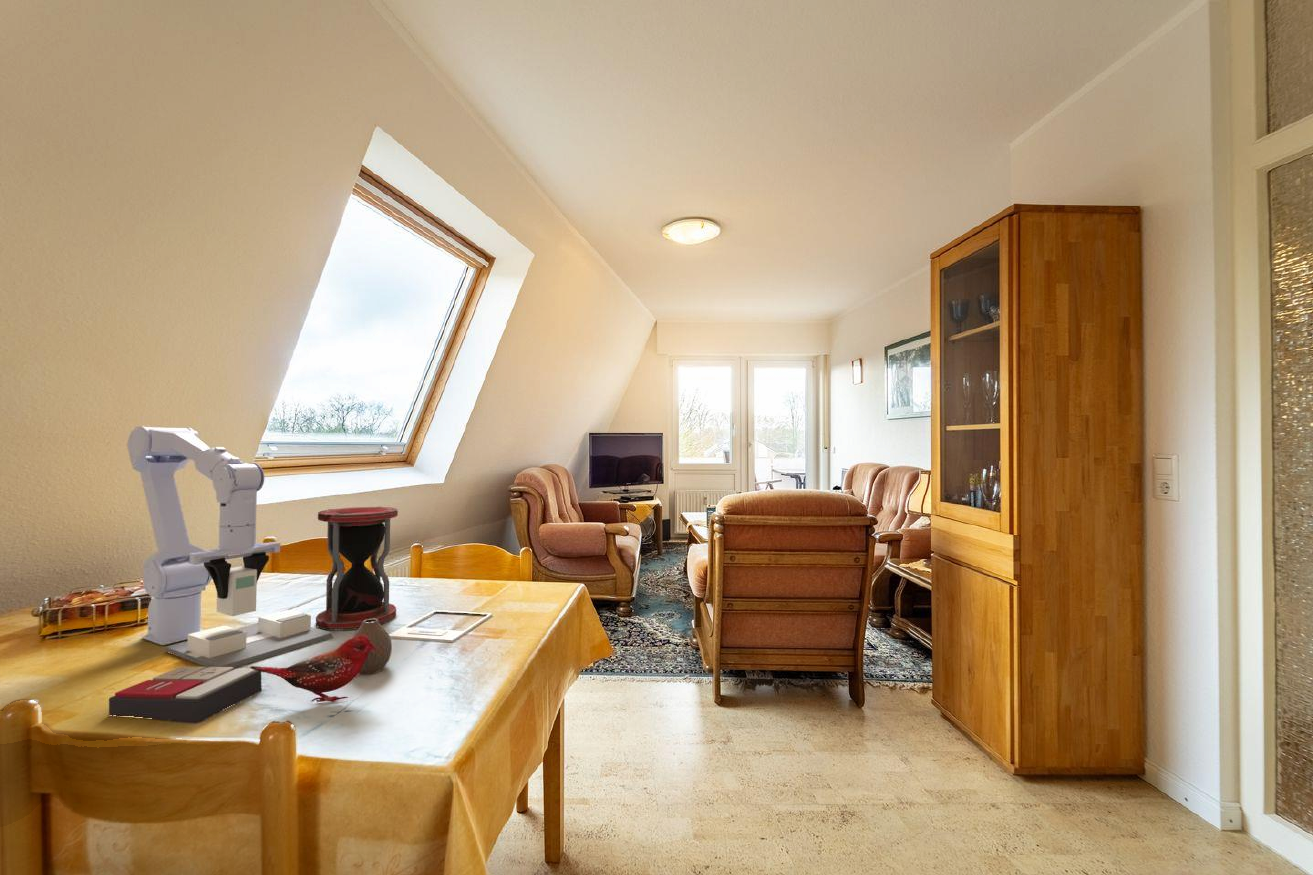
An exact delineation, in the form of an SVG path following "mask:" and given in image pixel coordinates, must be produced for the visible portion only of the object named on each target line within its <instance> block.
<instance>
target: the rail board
mask: <svg viewBox="0 0 1313 875" xmlns="http://www.w3.org/2000/svg"><path fill="white" fill-rule="evenodd" d="M257 618H258V619H257V620H258V621H257V622H258V623H255V624H249V625H246V626H242V627H238V628H235V627H231V626H228V625H221V626H217V627H212V628H209V629H204V631H200V632H196V633H191V634H188V639H187V641H186V640H185V641H182V642H179V643H174V644H171V645H170V644H169V645H167V646H166V645H165V653H167V652H170V653H172V654H174V655H173V656H175V655H177V656H176V657H178V656H179V658H180V657H181V659H183V660H185V659H186V661H189V662H191V663H193V662H195V663H194V664H196V663H197V665H199V664H200V665H199V666H200V667H206V668H208V667H234V669H236V668H237V667H238V668H239V667H242V666H244V665H248V664H251V663H253V662H257V661H261V660H264V659H267V658H270V657H274V656H277V655H280V654H284V653H286V652H290V651H293V650H296V649H300V648H304V647H305V646H309V645H313V644H316V643H319V642H322V641H326V640H329V639H332V638H333V637H334V636H333V634H334V633H333V632H332V631H329V630H326V629H322V628H318V627H317V628H316V627H312V622H311V621H312V615H311V614H308V613H303V612H300V611H295V610H292V609H286V610H283V611H282V610H281V611H279V612H274V613H270V614H266V615H261V616H257ZM170 653H169V654H170ZM172 654H171V655H172Z"/></svg>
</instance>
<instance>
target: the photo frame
mask: <svg viewBox="0 0 1313 875" xmlns="http://www.w3.org/2000/svg"><path fill="white" fill-rule="evenodd" d="M435 611H441V612H454V613H455V612H457V613H468V614H467V615H472V614H484V615H483V616H484V617H482V618H481V619H479V620H478V621H476V622H474V623H473V624H472V625H470V626H468V627H466V628H465V629H464V630H450V629H449V630H448V629H435V628H434V629H433V628H421V627H419V628H418V627H413V626H416V625H417V624H419V623H421V622H423V621H425V620H427V619H428V618H430V617H432V616H433V615H432V614H434V615H435V613H436V612H435ZM434 612H435V613H434ZM454 613H453V614H454ZM431 615H432V616H431ZM492 615H493V613H492V612H473V611H472V612H471V611H456V610H454V611H453V610H443V609H442V610H440V609H439V610H438V609H436V610H435V609H434V610H432V611H431V612H429V613H427V614H425V615H423V616H421V617H420V618H417V619H415V620H413V621H412V622H410V623H408V624H406V625H405V626H402V627H400V628H399V629H397V630H395V631H393V632H391V633H388V634H389V636H390V639H393V638H394V640H395V639H397V640H410V641H424V642H425V641H426V642H428V641H429V642H440V643H441V642H442V643H454V642H456V641H457V640H458V639H460V638H461V637H463V636H464V635H466V634H468V633H469V632H471V631H472V630H474V629H475V628H476V627H477V625H478V626H479V625H481V624H482V623H484V622H485V621H486V620H487V621H488V619H490V618H491V617H493V616H492ZM429 616H430V617H429ZM427 617H428V618H427ZM489 617H490V618H489ZM426 618H427V619H426ZM424 619H425V620H424ZM420 621H421V622H420ZM483 621H484V622H483ZM418 622H419V623H418ZM481 622H482V623H481ZM480 623H481V624H480Z"/></svg>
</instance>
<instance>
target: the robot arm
mask: <svg viewBox="0 0 1313 875" xmlns="http://www.w3.org/2000/svg"><path fill="white" fill-rule="evenodd" d="M199 438H200V437H199V432H198V431H196V430H194V429H193V428H192V427H158V426H156V427H155V426H143V425H137V426H135V427H134V428H133V430H131V431H130V434H129V436H128V440H127V443H126V444H127V445H126V447H127V451H128V455H129V460H130V463H131V465H132V466H131V467H132V469H133V470H135V471H137V472H139V475H140V478H141V482H142V487H143V492H144V496H145V500H146V504H147V509H148V510H147V511H148V514H149V518H150V523H151V527H152V530H153V536H154V540H155V545H156V549H157V550H156V551H155V552H154V553H153V554H151V555H150V556H149V557H148V558H147V559H146V560H145V561H144V563H143V564H142V567H143V568H142V570H143V578H142V584H143V588H144V591H145V592H146V593H147V594H148V595H149V596H150V597H152V599H151V600H150V602H149V603H148V609H147V633H146V634H143V635H141V638H142V639H144V640H146V641H150V642H152V643H154V644H157V645H160V646H166V645H170V644H173V643H174V644H175V643H177V642H181V641H182V642H183V641H186V640H188V634H191V633H196V632H200V631H204V630H205V629H203V628H202V627H201V625H202V623H201V622H202V621H201V620H202V592H203V591H206V587H207V586H208V585H210V583H211V582H213V584H214V586H215V587H214V588H215V590H216V596H217V595H218V598H221V599H226V598H227V595H228V578H229V572H230V568H232V563H231V562H230V563H229V562H228V561H227V560H231V559H238V558H242V561H243V567H246V568H251V569H256V570H257V582H258V581H259V578H260V576H261V574H262V572H263V570H264V569H265V567H266V565H267V563H268V562H269V560H270V555H267V554H271V553H273V554H274V553H275V554H277V553H280V552H281V542H278V541H277V542H276V541H272V542H265V543H264V542H262V543H256V542H257V541H256V539H257V537H256V536H257V506H258V505H257V502H258V501H257V499H258V498H257V497H258V496H257V494H258V492H259V491H260V490H261V489H262V488H263V486H264V485H265V484H264V483H265V472H264V469H263V468H262V466H261V465H259V464H258V463H257V462H249V463H245V462H243V461H241V459H240V458H239V457H236V456H234V455H232V454H230V453H229V452H227V449H226V448H225V447H224V446H223V447H222V446H214V447H209V446H208V445H207V444H206V443H205V442H203V440H200V439H199ZM190 460H191V461H192V462H194V467H195V469H196V470H197V472H199V473H200V474H202V475H203V476H204V477H207V479H209V480H211V481H212V486H213V488H214V490H215V497H216V498H215V499H216V502H217V503H219V524H218V526H219V530H218V548H214V549H208V550H205V549H204V548H202V547H199V546H197V545H195V544H193V543H191V542H190V539H189V534H188V531H187V526H186V521H185V517H184V513H183V509H182V508H183V507H182V505H181V500H180V496H179V492H178V488H177V483H176V480H175V473H176V472H177V471H179V470H181V469H184V468H185V467H186V465H187V464H188V463H189V462H190Z"/></svg>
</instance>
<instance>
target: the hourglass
mask: <svg viewBox="0 0 1313 875" xmlns="http://www.w3.org/2000/svg"><path fill="white" fill-rule="evenodd" d="M398 515H399V510H398V508H396V507H389V506H387V507H386V506H363V507H362V506H357V507H341V508H328V509H326V510H325V509H324V510H321V511H319V512H317V520H318V521H320V522H324V523H325V522H327V535H326V538H327V541H326V542H327V544H326V545H327V546H326V548H327V552H328V554H329V555H330V557H331V559H332V568H331V571H330V572H329V574H328V575H327V578H326V590H325V593H326V595H325V596H326V598H325V599H326V600H325V602H326V603H325V606H326V607H325V610H324V611H321V612H319V613H318V614H317V615H316V616H315V625H316V627H317V628H318V629H321V630H326V631H347V630H358V629H359V628H360V626H361V624H362V622H363V621H364V620H367V619H378V621H379V623H380V625H382V624H383V623H386V621H387V622H389V621H391V620H392V619H394V618H395V617H396V615H397V607H396V606H395V605H394V604H393V603H390V580H389V576H388V575H387V574H386V572H385V567H384V563H385V559H386V557H387V556H388V555H389V553H390V550H391V519H393V518H397V516H398ZM382 542H384V545H383V547H384V548H383V551H382V553H381V554H380V556H379V557H378V552H379V550H380V548H381V544H382ZM341 556H343V557H344V559H346V560H347V561H348V562H349V563H351V567H350V568H349V569H348V570H347V571H345V570H346V568H345V563H344V561H343V559H342V558H341ZM368 559H370V565H371V568H372V570H373V571H371V570H370V569H369V568H368V567H366V566H365V563H366V561H367V560H368ZM335 575H336V578H335V579H334V577H335ZM333 579H334V582H333ZM381 579H382V582H383V584H382V582H381Z"/></svg>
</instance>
